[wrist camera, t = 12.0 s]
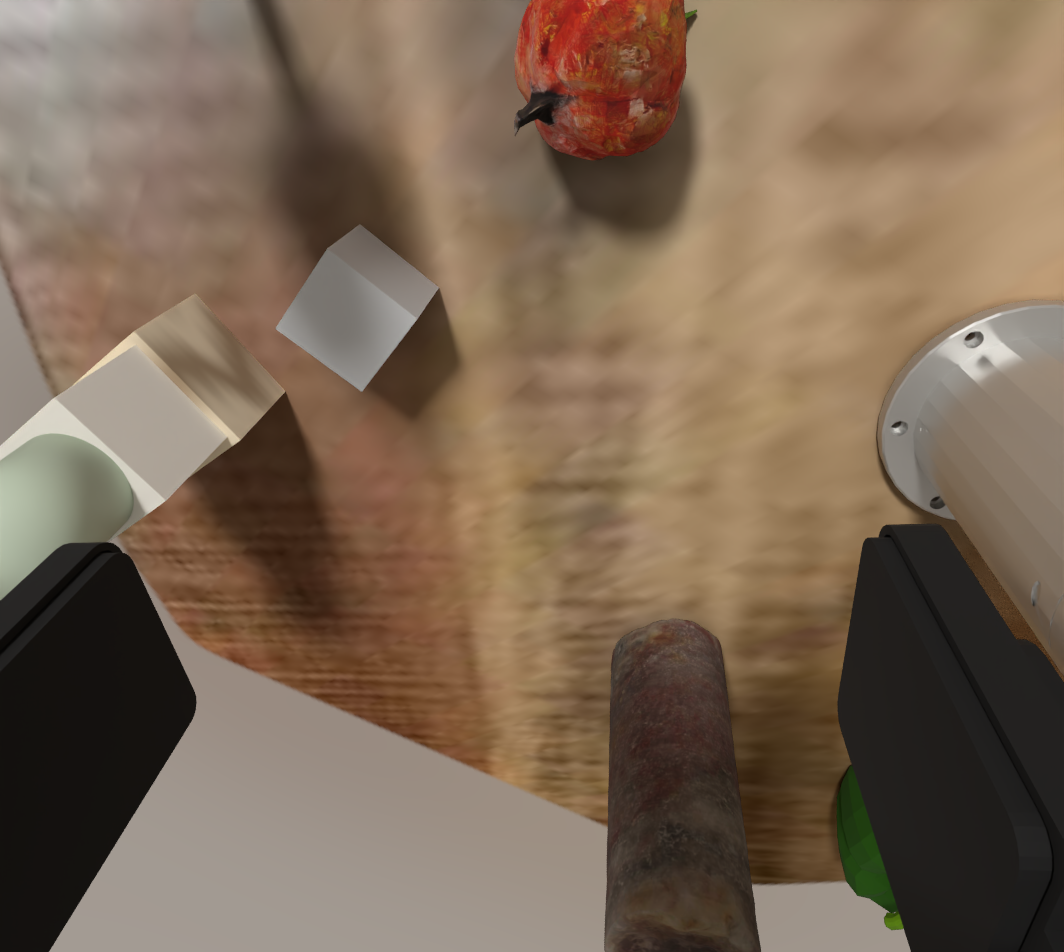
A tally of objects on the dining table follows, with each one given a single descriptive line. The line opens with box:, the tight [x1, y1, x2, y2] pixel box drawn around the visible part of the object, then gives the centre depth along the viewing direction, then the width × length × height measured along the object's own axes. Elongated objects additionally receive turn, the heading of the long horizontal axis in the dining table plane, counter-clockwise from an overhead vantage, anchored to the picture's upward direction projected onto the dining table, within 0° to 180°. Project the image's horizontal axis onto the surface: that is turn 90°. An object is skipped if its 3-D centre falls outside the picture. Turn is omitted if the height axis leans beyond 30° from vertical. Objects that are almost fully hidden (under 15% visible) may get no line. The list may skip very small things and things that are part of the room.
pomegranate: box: [514, 0, 697, 160], centre depth 30 cm, size 7×7×10 cm
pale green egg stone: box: [0, 433, 134, 600], centre depth 30 cm, size 5×5×6 cm
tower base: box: [72, 294, 286, 478], centre depth 40 cm, size 7×7×6 cm
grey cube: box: [275, 224, 439, 392], centre depth 37 cm, size 5×5×5 cm
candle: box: [604, 619, 761, 952], centre depth 42 cm, size 8×7×20 cm
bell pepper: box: [837, 766, 903, 930], centre depth 50 cm, size 8×8×10 cm
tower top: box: [0, 345, 227, 542], centre depth 35 cm, size 6×6×6 cm
